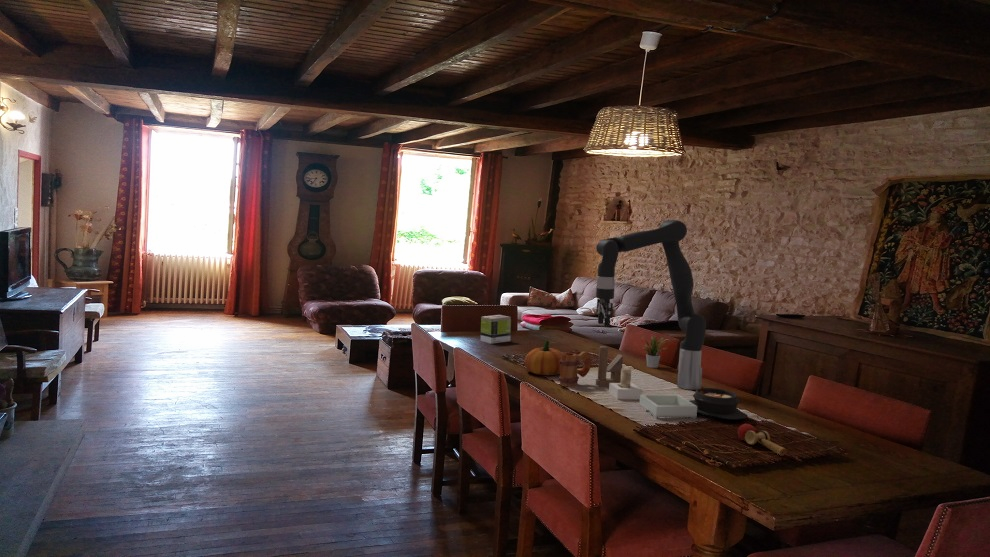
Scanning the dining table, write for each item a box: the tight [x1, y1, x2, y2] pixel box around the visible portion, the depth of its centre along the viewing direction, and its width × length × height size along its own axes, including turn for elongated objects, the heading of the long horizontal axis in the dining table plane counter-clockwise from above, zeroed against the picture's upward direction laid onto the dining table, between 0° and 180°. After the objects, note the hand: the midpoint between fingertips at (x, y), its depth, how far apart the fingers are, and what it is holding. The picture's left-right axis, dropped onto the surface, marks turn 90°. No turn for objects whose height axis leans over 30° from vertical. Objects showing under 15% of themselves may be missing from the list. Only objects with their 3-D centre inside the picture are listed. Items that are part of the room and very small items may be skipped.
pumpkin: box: [524, 340, 563, 376], centre depth 302 cm, size 19×19×15 cm
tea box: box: [480, 314, 512, 345], centre depth 375 cm, size 15×10×15 cm, turn 130°
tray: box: [639, 394, 698, 419], centre depth 247 cm, size 16×16×4 cm
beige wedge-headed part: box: [595, 345, 624, 388], centre depth 280 cm, size 4×11×18 cm, turn 111°
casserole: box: [688, 387, 748, 421], centre depth 247 cm, size 25×19×8 cm
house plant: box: [642, 334, 670, 369], centre depth 325 cm, size 14×14×16 cm
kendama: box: [737, 423, 788, 456], centre depth 212 cm, size 8×6×18 cm
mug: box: [557, 350, 592, 388], centre depth 280 cm, size 15×8×15 cm, turn 105°
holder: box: [608, 382, 642, 400], centre depth 264 cm, size 10×10×5 cm
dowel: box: [620, 367, 632, 388], centre depth 264 cm, size 4×4×11 cm
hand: (603, 325), depth 273 cm, fingers open, 8 cm apart
